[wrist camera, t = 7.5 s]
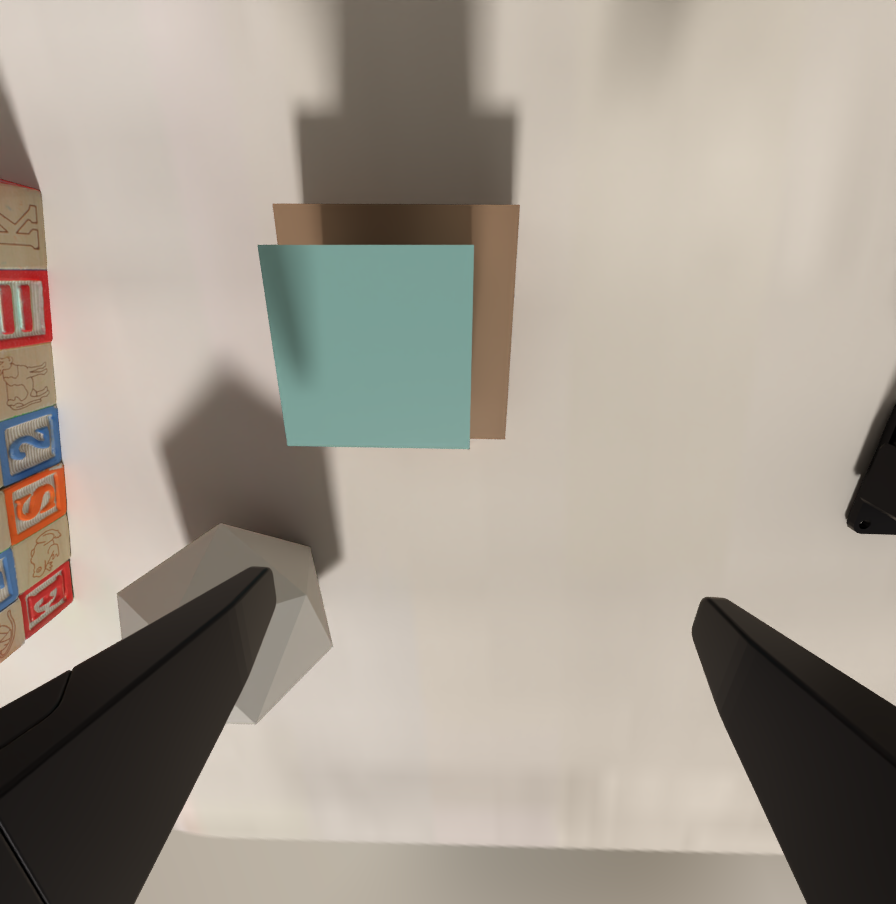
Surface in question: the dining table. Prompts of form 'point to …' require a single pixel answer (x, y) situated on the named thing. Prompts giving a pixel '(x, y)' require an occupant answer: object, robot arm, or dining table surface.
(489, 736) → the dining table surface
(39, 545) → the printed cardboard box
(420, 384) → the teal cube
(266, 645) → the die
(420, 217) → the walnut base
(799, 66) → the dining table surface
